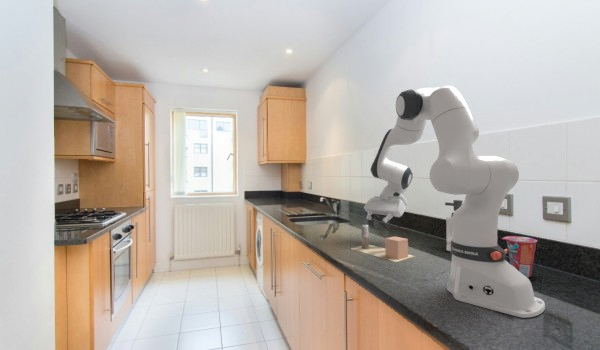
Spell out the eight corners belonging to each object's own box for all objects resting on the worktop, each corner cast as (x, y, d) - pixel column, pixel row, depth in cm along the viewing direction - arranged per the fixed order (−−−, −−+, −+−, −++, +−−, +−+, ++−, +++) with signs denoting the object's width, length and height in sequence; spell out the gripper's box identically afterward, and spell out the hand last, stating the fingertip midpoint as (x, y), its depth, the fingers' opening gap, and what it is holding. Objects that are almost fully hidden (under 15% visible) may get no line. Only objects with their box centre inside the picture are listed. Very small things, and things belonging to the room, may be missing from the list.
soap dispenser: (451, 247, 133) (450, 199, 132) (470, 251, 125) (469, 200, 125) (441, 249, 129) (441, 199, 129) (460, 253, 122) (460, 201, 122)
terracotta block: (408, 256, 114) (407, 239, 114) (398, 259, 110) (398, 241, 110) (395, 253, 119) (394, 236, 118) (385, 256, 115) (385, 238, 115)
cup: (517, 269, 102) (517, 235, 102) (544, 277, 94) (543, 240, 94) (497, 272, 99) (497, 237, 99) (523, 280, 91) (523, 242, 91)
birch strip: (416, 259, 114) (415, 231, 114) (396, 265, 107) (396, 234, 107) (369, 247, 134) (369, 222, 134) (350, 251, 127) (350, 225, 127)
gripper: (369, 192, 145) (355, 213, 139) (405, 194, 128) (390, 218, 122) (375, 200, 147) (362, 221, 142) (411, 203, 130) (397, 228, 125)
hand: (375, 220), depth 132 cm, fingers open, 8 cm apart
